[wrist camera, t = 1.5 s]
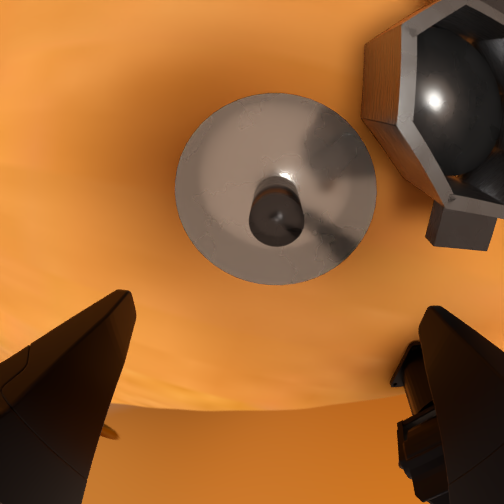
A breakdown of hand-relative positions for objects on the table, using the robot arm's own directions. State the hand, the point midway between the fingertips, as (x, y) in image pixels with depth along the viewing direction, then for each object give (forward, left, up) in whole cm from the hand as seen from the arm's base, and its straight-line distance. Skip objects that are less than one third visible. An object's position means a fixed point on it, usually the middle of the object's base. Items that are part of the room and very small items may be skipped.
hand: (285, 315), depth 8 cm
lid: (0, 0, -13) cm, 13 cm away
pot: (+8, -11, -12) cm, 18 cm away
